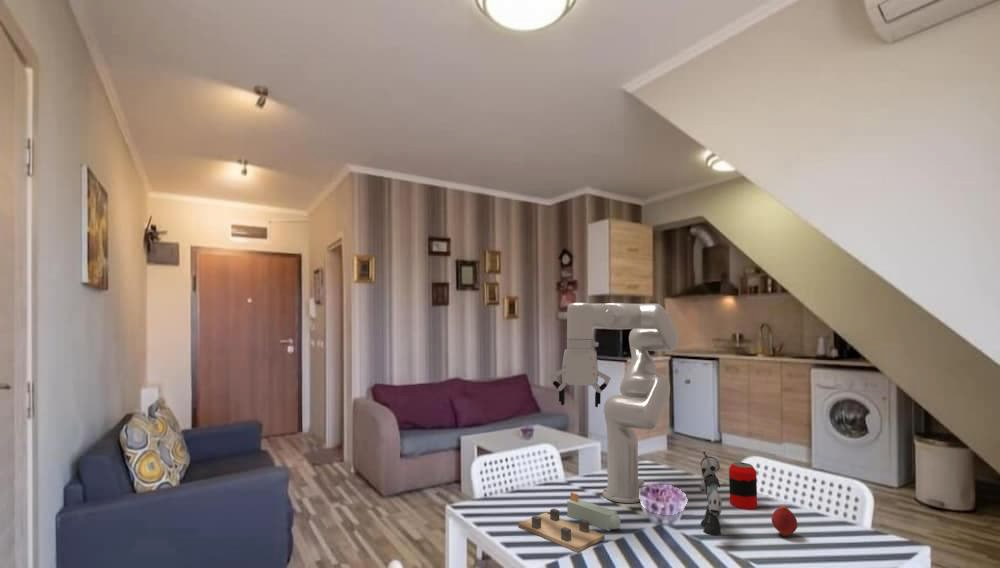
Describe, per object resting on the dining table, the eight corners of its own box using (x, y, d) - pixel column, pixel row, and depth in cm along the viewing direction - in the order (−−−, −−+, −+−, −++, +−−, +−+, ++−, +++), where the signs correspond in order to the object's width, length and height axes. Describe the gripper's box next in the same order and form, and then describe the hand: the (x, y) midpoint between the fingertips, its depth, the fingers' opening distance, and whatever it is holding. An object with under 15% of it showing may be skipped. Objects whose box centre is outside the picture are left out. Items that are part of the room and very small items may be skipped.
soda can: (758, 503, 154) (757, 463, 155) (755, 511, 148) (754, 470, 148) (731, 498, 158) (730, 460, 159) (728, 506, 152) (727, 465, 152)
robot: (728, 546, 125) (726, 463, 126) (707, 543, 126) (705, 462, 127) (714, 516, 144) (713, 445, 145) (696, 514, 145) (695, 444, 146)
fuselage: (575, 511, 146) (575, 490, 146) (623, 529, 134) (623, 506, 135) (566, 515, 143) (566, 494, 144) (615, 533, 132) (615, 509, 132)
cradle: (545, 516, 143) (545, 503, 143) (604, 538, 128) (604, 524, 128) (518, 526, 135) (518, 513, 135) (577, 552, 121) (577, 537, 121)
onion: (794, 533, 133) (793, 502, 133) (800, 542, 127) (799, 509, 128) (770, 530, 135) (769, 499, 135) (774, 538, 129) (773, 506, 130)
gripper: (610, 346, 147) (610, 405, 145) (552, 344, 151) (551, 402, 149) (610, 346, 139) (610, 409, 138) (548, 345, 143) (547, 405, 142)
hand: (579, 405), depth 143 cm, fingers open, 9 cm apart
